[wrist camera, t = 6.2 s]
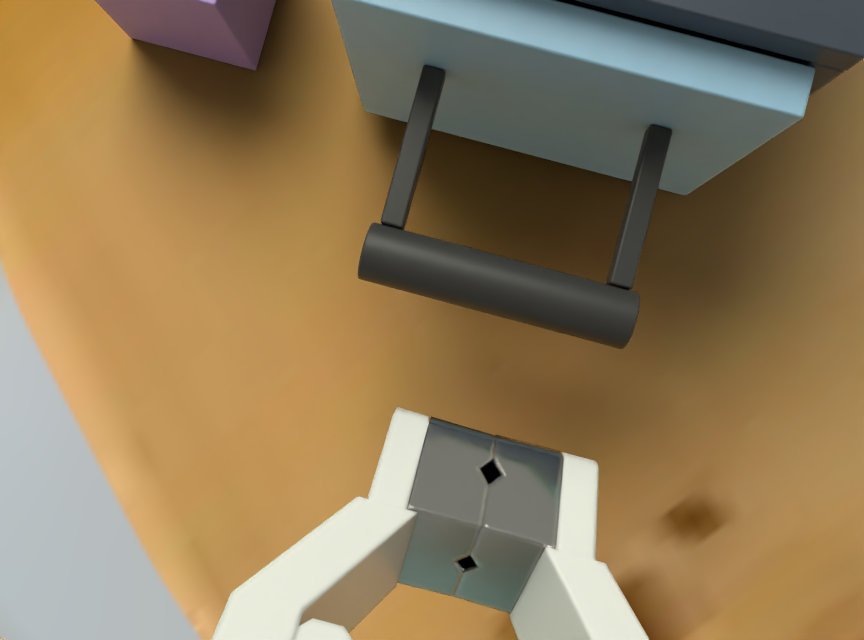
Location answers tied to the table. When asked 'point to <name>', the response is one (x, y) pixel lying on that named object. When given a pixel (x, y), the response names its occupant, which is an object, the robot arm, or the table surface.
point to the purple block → (198, 26)
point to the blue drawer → (555, 131)
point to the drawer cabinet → (768, 27)
